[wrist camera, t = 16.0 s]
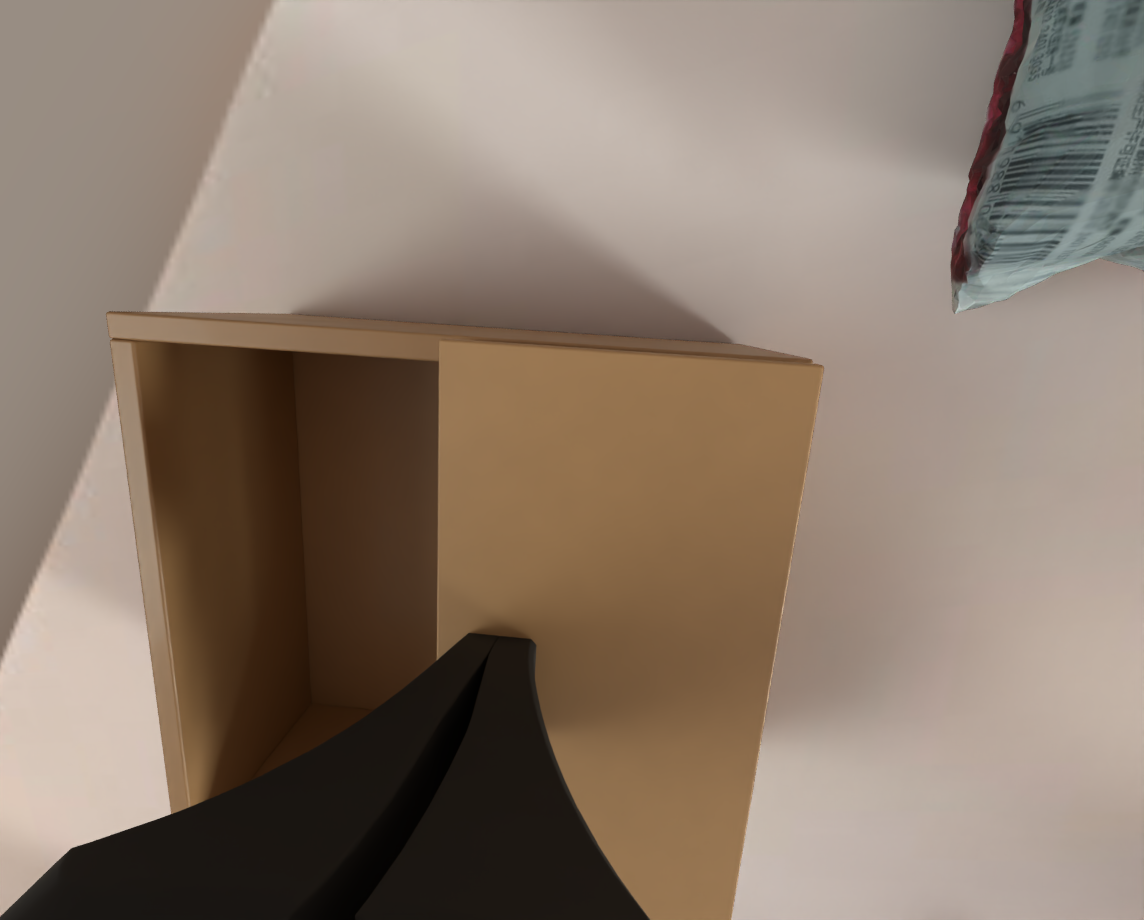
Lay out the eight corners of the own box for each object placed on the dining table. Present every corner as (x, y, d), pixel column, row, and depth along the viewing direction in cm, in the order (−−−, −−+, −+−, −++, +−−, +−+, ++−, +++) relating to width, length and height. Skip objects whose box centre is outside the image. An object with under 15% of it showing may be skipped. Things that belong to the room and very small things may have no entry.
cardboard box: (741, 344, 16) (813, 359, 10) (688, 745, 19) (720, 933, 13) (284, 313, 17) (104, 311, 11) (306, 704, 20) (176, 866, 14)
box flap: (817, 363, 10) (825, 365, 9) (720, 950, 13) (723, 970, 12) (444, 337, 10) (438, 339, 10) (439, 912, 13) (434, 930, 13)
